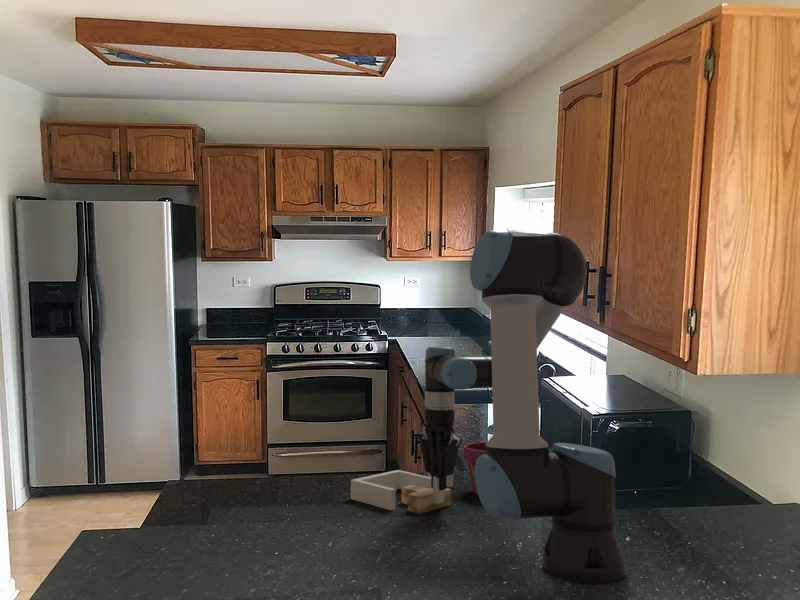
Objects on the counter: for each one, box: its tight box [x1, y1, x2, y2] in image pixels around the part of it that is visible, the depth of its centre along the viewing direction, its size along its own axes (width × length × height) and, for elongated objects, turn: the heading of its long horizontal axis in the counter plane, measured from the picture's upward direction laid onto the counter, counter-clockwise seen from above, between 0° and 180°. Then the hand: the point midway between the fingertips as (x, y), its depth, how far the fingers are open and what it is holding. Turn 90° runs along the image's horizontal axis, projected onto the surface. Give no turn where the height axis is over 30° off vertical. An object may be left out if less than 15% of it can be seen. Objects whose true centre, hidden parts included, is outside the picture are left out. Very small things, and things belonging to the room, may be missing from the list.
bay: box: [350, 469, 432, 511], centre depth 174 cm, size 15×18×5 cm
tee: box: [401, 485, 452, 515], centre depth 167 cm, size 10×12×4 cm
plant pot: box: [463, 441, 488, 495], centre depth 182 cm, size 14×14×13 cm
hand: (438, 502), depth 163 cm, fingers closed
